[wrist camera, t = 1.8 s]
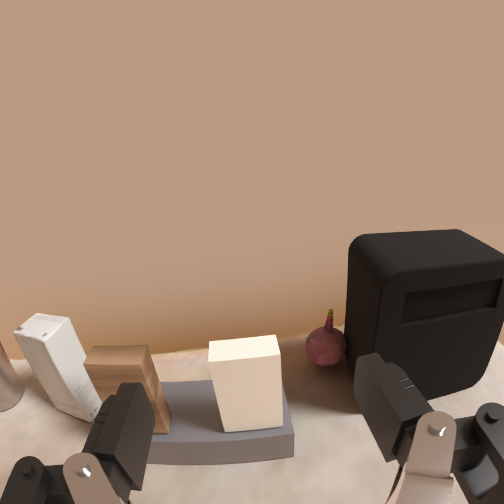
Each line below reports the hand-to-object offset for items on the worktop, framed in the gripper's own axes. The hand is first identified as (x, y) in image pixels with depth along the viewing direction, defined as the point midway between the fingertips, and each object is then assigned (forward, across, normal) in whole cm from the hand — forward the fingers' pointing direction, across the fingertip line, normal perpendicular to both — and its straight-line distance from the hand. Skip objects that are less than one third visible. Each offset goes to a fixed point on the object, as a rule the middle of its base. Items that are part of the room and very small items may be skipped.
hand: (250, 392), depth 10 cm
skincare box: (+21, +27, +22) cm, 41 cm away
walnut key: (+14, +13, +17) cm, 25 cm away
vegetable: (+27, -11, +22) cm, 37 cm away
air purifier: (+22, -24, +23) cm, 40 cm away
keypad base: (+17, +7, +22) cm, 29 cm away
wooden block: (+14, +1, +17) cm, 22 cm away
